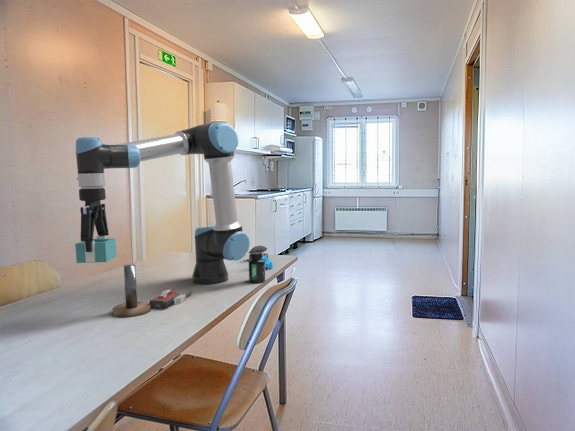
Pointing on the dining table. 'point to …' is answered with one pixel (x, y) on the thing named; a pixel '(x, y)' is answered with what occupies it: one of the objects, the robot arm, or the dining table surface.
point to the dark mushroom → (258, 250)
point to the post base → (131, 310)
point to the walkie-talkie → (167, 299)
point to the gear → (267, 262)
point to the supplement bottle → (256, 268)
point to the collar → (97, 250)
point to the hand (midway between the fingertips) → (96, 258)
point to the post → (130, 286)
